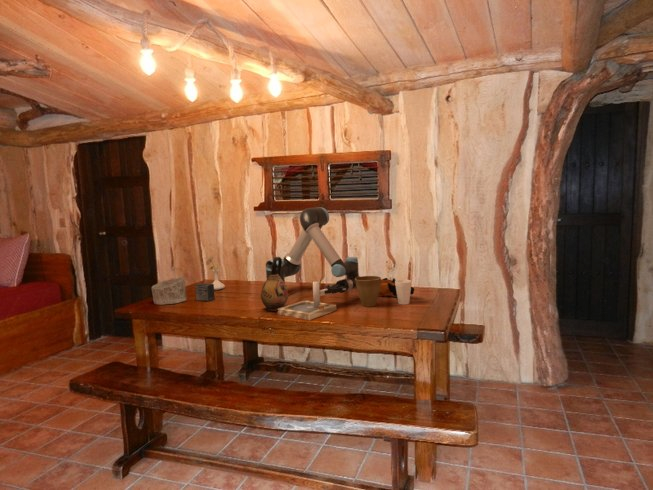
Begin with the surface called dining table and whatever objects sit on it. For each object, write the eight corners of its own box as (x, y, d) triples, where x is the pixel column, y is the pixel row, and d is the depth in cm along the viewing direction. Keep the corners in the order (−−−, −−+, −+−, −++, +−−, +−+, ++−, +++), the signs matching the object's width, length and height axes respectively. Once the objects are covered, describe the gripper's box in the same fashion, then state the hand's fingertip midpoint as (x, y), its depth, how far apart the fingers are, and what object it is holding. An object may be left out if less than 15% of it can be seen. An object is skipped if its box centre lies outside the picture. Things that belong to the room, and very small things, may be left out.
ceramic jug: (277, 313, 246) (274, 259, 243) (256, 310, 254) (253, 258, 251) (295, 306, 260) (293, 255, 257) (274, 304, 268) (272, 254, 265)
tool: (403, 311, 267) (411, 289, 262) (371, 294, 278) (379, 273, 273) (409, 308, 274) (417, 287, 269) (378, 291, 285) (385, 270, 280)
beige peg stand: (293, 316, 238) (292, 286, 236) (292, 309, 254) (290, 281, 252) (323, 314, 240) (322, 284, 238) (320, 307, 255) (318, 279, 254)
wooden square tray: (277, 314, 245) (277, 305, 244) (305, 305, 263) (304, 296, 262) (309, 320, 231) (309, 310, 230) (336, 310, 249) (336, 301, 248)
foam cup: (413, 301, 262) (412, 279, 260) (410, 305, 253) (410, 282, 252) (396, 300, 265) (396, 279, 264) (394, 304, 256) (393, 282, 255)
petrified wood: (148, 304, 279) (146, 281, 278) (167, 298, 295) (165, 276, 294) (173, 306, 273) (171, 282, 271) (191, 299, 289) (189, 276, 287)
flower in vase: (217, 287, 327) (215, 253, 324) (228, 288, 320) (226, 254, 318) (203, 290, 317) (201, 255, 314) (214, 292, 310) (211, 256, 307)
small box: (215, 299, 287) (214, 283, 286) (208, 301, 281) (207, 285, 280) (202, 298, 291) (201, 282, 290) (195, 300, 285) (194, 284, 284)
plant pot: (383, 302, 263) (382, 275, 261) (380, 308, 248) (379, 280, 247) (357, 301, 266) (357, 275, 264) (353, 308, 252) (352, 280, 250)
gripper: (353, 292, 262) (329, 301, 244) (335, 290, 270) (310, 298, 252) (353, 280, 262) (329, 287, 243) (334, 278, 269) (310, 285, 251)
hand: (319, 293), depth 247 cm, fingers closed
